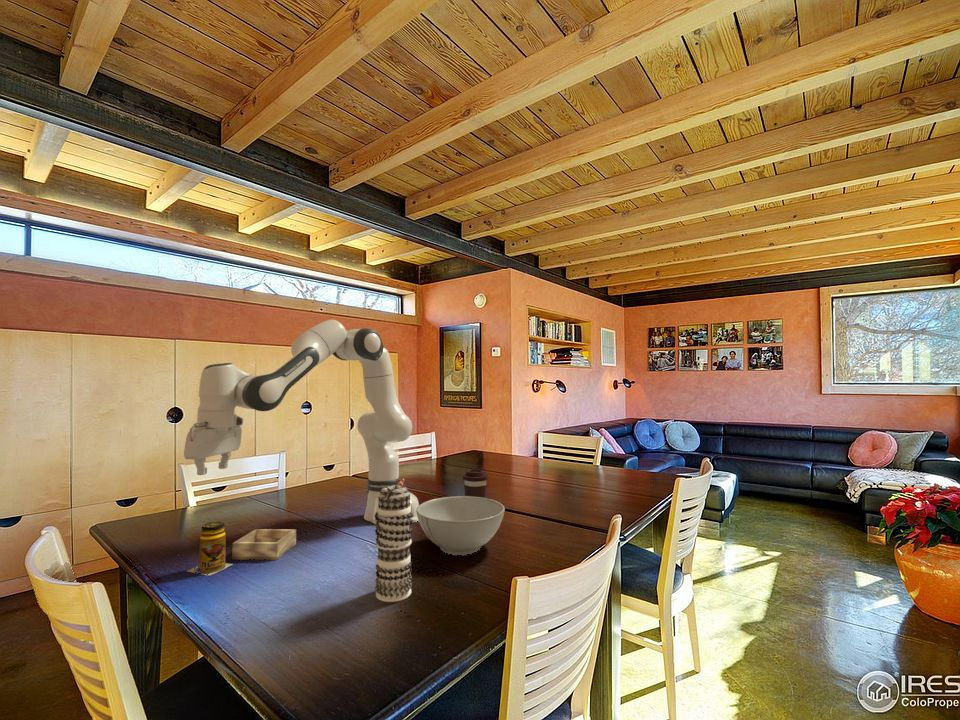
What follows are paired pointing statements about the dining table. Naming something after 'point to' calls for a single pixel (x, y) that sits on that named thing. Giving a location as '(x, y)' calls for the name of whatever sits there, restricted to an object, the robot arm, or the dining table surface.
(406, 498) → the decorative candle
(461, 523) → the decorative bowl
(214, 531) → the condiment
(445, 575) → the dining table surface
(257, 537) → the caddy
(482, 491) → the coffee cup
